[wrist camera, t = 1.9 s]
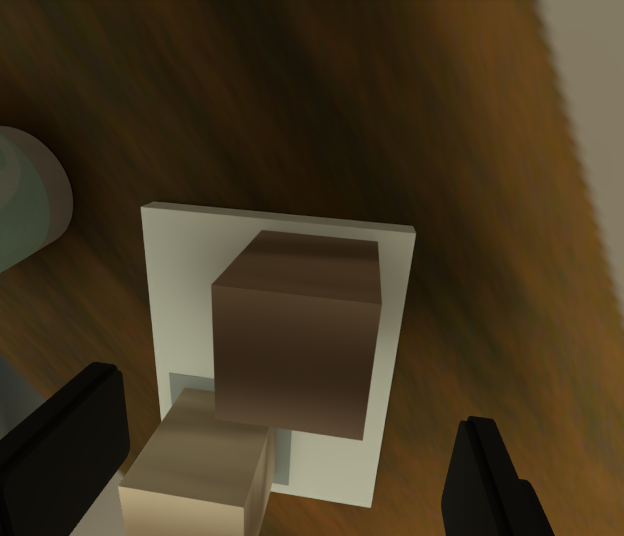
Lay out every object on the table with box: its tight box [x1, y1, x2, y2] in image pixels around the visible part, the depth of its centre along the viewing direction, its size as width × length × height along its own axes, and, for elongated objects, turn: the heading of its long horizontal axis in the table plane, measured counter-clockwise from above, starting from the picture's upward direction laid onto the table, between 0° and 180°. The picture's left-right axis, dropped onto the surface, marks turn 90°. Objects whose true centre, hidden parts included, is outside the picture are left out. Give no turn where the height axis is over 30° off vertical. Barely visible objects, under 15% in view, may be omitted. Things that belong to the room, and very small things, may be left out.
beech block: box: [118, 388, 277, 536], centre depth 19 cm, size 5×5×6 cm
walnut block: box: [211, 230, 382, 441], centre depth 15 cm, size 5×5×6 cm
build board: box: [141, 201, 416, 508], centre depth 21 cm, size 16×12×1 cm
